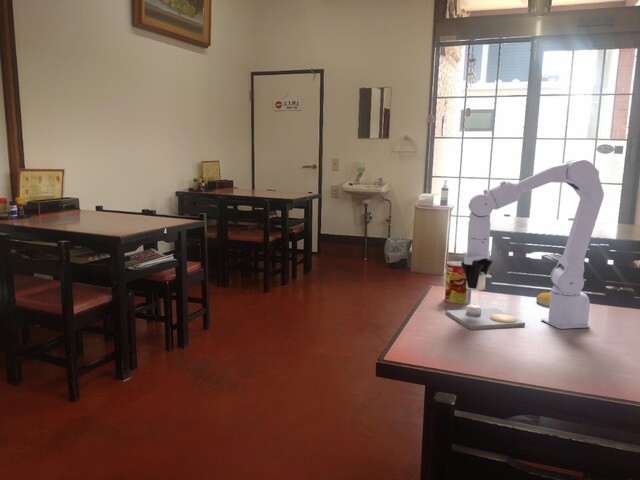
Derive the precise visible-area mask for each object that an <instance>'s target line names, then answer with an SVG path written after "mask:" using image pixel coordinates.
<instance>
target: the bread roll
mask: <svg viewBox="0 0 640 480" xmlns="http://www.w3.org/2000/svg"><path fill="white" fill-rule="evenodd" d="M550 295H551V291H549V292H541V293H540V294H539V293H538V295H537V296H536V302H537V303H538V304H539V305H541V306H543V307H544V306H545V307H549V306H550Z"/></svg>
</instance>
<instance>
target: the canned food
mask: <svg viewBox="0 0 640 480" xmlns="http://www.w3.org/2000/svg"><path fill="white" fill-rule="evenodd" d="M462 262H464V260H463V261H462V260H450V261H447V262H446V275H445V291H444V293H445V294H444V301H446V302H447V301H448V303H452V304H456V303H457V304H458V305H461V304H462V305H463V304H464V305H466V304H469V303H471V300H472V299H471V298H472V290H471V289H467V288H466V283H467V279H466V275H465V272H464V269H463V267H462V265H461V263H462Z"/></svg>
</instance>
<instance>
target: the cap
mask: <svg viewBox="0 0 640 480" xmlns="http://www.w3.org/2000/svg"><path fill="white" fill-rule="evenodd" d="M486 277H487V274H484V272H480V274H479V278H478V284H477V287H476V289H473V288H468V285H467V283H466V288H467V289H471V291H483V290H486Z"/></svg>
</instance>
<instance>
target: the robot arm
mask: <svg viewBox="0 0 640 480" xmlns="http://www.w3.org/2000/svg"><path fill="white" fill-rule="evenodd" d="M554 182H555V183H565V184H567V185H568V186H570V187H571V188H573V190H574V191H575V193H576V194H577V196H578V197H579V200H578V201H579V202H578V204H577V209H576V212H575V215H574V218H573V220H572V221H573V222H572V224H571V228H570V231H569V234H568V237H567V241H566V244H565V248H564V251H563V254H562V255H561V257H560V258H559V259H558V261H557V264H556V266H555V267H554V268H553V269H552V270H551V272H550V280H551V282H552V284H553V286H552V287H551V288H550V292H551V295H550V306H548V307H549V308H548V317H542V318H540V321H542V322H544V323H546V324H548V325H551V326H552V327H554V328H557V329H559V330H566V329H580V328H581V329H582V328H590V327H591V325H590V324H589V316H590V307H591V303H590V298H589V296H588V294H586V293H585V292H582V290H583V288H584V286H585V280H584V273H585V263H584V261H585V257H586V254H587V250H588V248H589V245H590V242H591V239H592V236H593V235H592V234H593V231H594V229H595V225H596V221H597V218H598V216H599V213H600V210H601V206H602V203H603V200H604V196H605V192H604V189H603V186H602V182H601V179H600V171H599V170H598V169H597V168H596V166H595V165H594V164H593V163H592V162H591V161H589V160H587V159H578V160H574V159H573V160H569V161H568V160H567V161H566V162H564V163H558V164H556V165H552V166H550V167H547V168H545V169H544V170H541V171H539V172H537V173H535V174H533V175H531V176H528V177H527V178H525V179H523V180H520V181H518V182H514V181H511V180H508V181H505V180H503V181H501V182H500V183H499V185H497V186H495V187H492V188H491V189H489V190H488V189H484V190H483V194H482V193H481V194H480V193H479V194H476V195H474V196H472V197H471V199H470V201H469V203H468V209H469V211H470V212H469V214H468V215H469V217H468V219H469V220H468V228H467V229H468V231H467V246H466V247H467V250H466V251H463V252H462V256H464V257H463V259H464V260H463V262H462V263H461V265H462V267H463V269H464V272H465V275H466V279H467V285H468V288H473V289H476V287H477V284H478V278H479V274H480V272H484V274H486V275H487V273H488V271H489V268H491V265H492V263H493V259H490V258H491V251H490V237H491V214H492V212H493V210H499V209H501V208H504V207H506V206H509V205H511V204H513V203H516V202H517V201H519V200H520V197H521V196H522V194H524V193H526V192H530V191H531V190H534V189H537V188H540V187H542V186H545V185H547V184H549V183H554Z"/></svg>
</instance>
